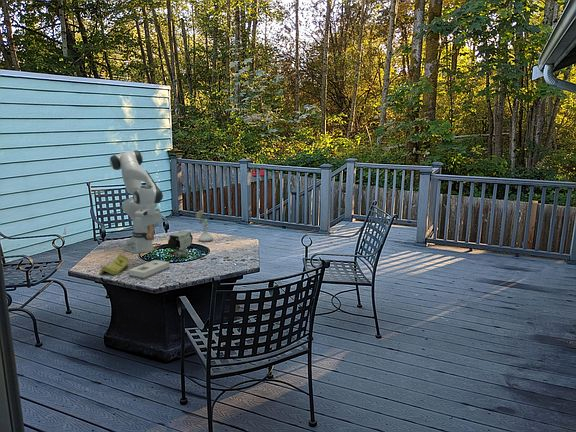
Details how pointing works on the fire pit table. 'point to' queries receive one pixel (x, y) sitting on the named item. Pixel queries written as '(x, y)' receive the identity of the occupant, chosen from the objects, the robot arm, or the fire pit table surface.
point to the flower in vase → (205, 235)
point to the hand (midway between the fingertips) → (150, 231)
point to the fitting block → (149, 269)
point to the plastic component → (116, 265)
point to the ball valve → (180, 242)
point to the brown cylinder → (150, 232)
